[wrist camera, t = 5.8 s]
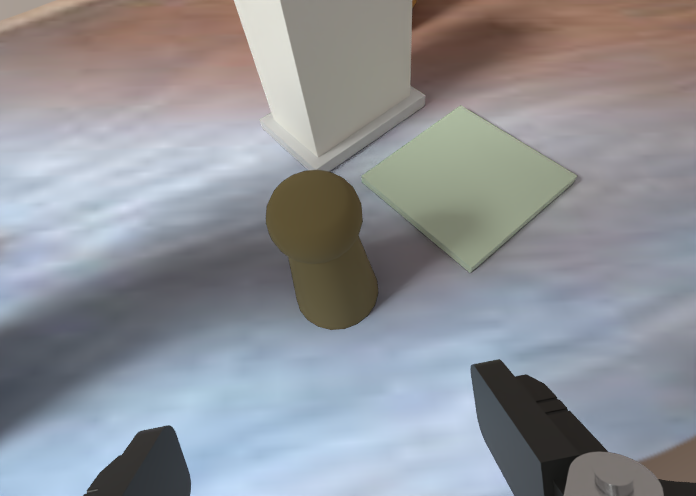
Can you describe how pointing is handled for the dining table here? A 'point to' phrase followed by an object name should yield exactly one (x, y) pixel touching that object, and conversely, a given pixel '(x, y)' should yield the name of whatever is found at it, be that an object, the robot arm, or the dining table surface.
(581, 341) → the dining table surface
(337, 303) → the cork
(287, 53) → the housing
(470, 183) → the plate
